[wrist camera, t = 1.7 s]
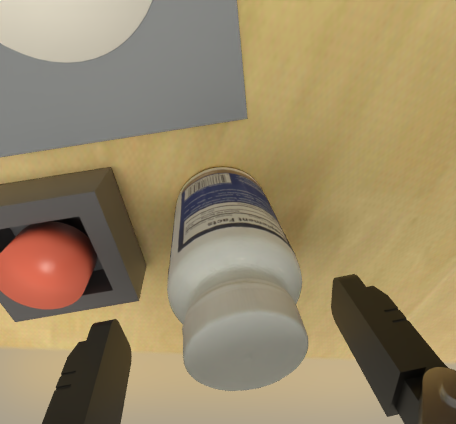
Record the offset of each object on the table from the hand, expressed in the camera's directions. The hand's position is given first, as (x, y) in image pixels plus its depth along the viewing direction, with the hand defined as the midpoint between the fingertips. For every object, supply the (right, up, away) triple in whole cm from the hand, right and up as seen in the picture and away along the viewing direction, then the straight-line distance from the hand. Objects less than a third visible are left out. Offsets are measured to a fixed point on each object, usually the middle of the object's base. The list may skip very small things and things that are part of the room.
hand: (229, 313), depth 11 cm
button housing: (-9, +3, +6) cm, 12 cm away
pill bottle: (0, +4, +7) cm, 8 cm away
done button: (-9, +2, +5) cm, 10 cm away
